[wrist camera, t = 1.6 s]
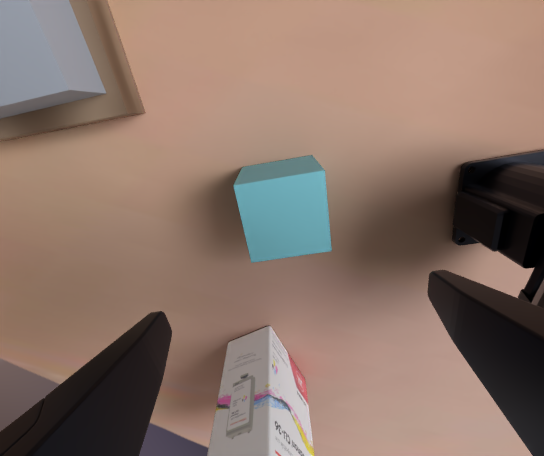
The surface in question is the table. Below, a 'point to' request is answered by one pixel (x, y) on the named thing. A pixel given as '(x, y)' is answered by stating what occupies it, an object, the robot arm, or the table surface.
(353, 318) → the table surface
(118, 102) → the tan flat square block
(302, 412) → the ink cartridge box
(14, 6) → the grey slab
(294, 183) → the teal cube
